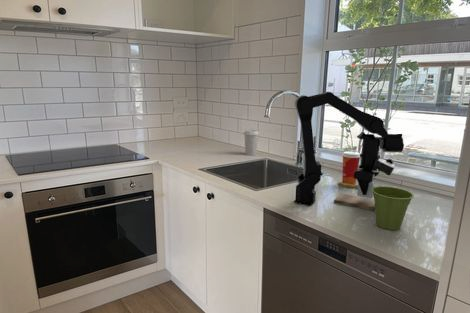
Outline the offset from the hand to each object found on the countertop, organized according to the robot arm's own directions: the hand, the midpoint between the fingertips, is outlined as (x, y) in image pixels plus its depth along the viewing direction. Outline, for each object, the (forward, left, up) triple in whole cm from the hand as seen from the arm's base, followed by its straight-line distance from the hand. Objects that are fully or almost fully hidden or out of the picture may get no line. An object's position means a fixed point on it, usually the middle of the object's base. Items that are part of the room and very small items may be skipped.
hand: (365, 193), depth 122 cm
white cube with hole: (0, 0, -1) cm, 1 cm away
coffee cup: (-79, +53, -5) cm, 95 cm away
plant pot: (+10, -15, -5) cm, 19 cm away
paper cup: (-12, +24, -5) cm, 27 cm away
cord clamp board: (-2, 0, -4) cm, 5 cm away
